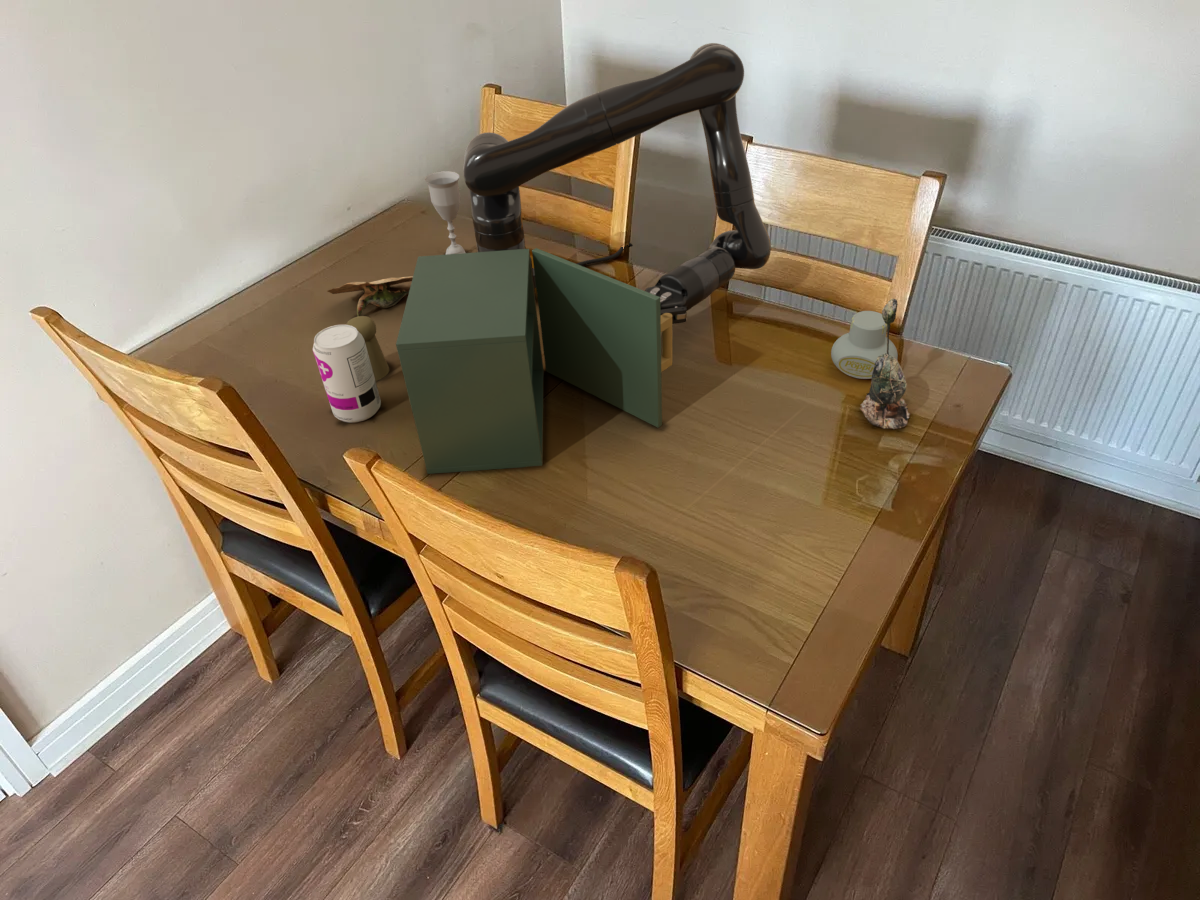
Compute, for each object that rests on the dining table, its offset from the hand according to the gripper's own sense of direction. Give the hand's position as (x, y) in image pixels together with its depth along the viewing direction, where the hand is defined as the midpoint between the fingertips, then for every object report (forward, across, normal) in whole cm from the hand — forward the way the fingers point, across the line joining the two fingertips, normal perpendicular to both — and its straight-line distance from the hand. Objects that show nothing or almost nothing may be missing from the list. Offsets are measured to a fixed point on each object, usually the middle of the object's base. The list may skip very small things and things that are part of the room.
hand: (624, 326), depth 146 cm
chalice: (-12, +60, -11) cm, 62 cm away
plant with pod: (-18, -40, -11) cm, 45 cm away
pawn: (+27, +38, -11) cm, 48 cm away
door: (+4, 0, -10) cm, 11 cm away
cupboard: (+23, +10, -10) cm, 27 cm away
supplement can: (+36, +30, -11) cm, 48 cm away
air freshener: (-27, -30, -11) cm, 42 cm away
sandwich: (+12, +58, -10) cm, 60 cm away
